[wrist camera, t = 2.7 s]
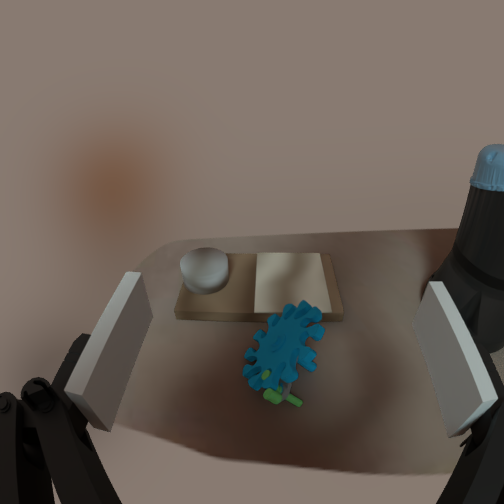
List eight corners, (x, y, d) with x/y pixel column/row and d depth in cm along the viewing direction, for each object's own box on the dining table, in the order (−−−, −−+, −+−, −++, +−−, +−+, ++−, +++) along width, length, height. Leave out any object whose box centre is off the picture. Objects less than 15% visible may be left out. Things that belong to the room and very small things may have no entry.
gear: (253, 314, 37) (321, 282, 30) (288, 340, 38) (356, 315, 32) (222, 401, 29) (300, 388, 22) (266, 423, 31) (344, 414, 24)
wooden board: (328, 262, 47) (331, 236, 45) (341, 321, 37) (348, 293, 35) (193, 261, 48) (189, 235, 46) (176, 319, 38) (169, 291, 36)
